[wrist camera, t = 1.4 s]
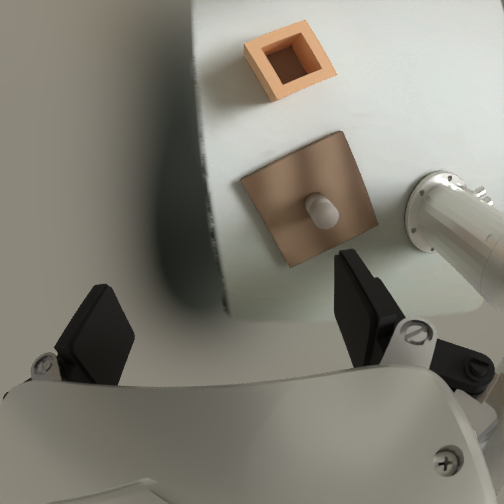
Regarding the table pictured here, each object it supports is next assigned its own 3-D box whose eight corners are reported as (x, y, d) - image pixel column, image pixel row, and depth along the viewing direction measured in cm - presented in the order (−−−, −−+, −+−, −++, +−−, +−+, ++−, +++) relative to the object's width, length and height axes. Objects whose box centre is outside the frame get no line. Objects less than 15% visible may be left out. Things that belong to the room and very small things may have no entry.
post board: (339, 130, 30) (357, 134, 25) (374, 221, 35) (393, 239, 30) (241, 178, 32) (240, 191, 27) (288, 263, 38) (295, 287, 33)
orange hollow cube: (294, 34, 24) (305, 19, 19) (321, 80, 27) (337, 74, 22) (243, 56, 25) (244, 43, 20) (271, 102, 28) (277, 99, 23)
